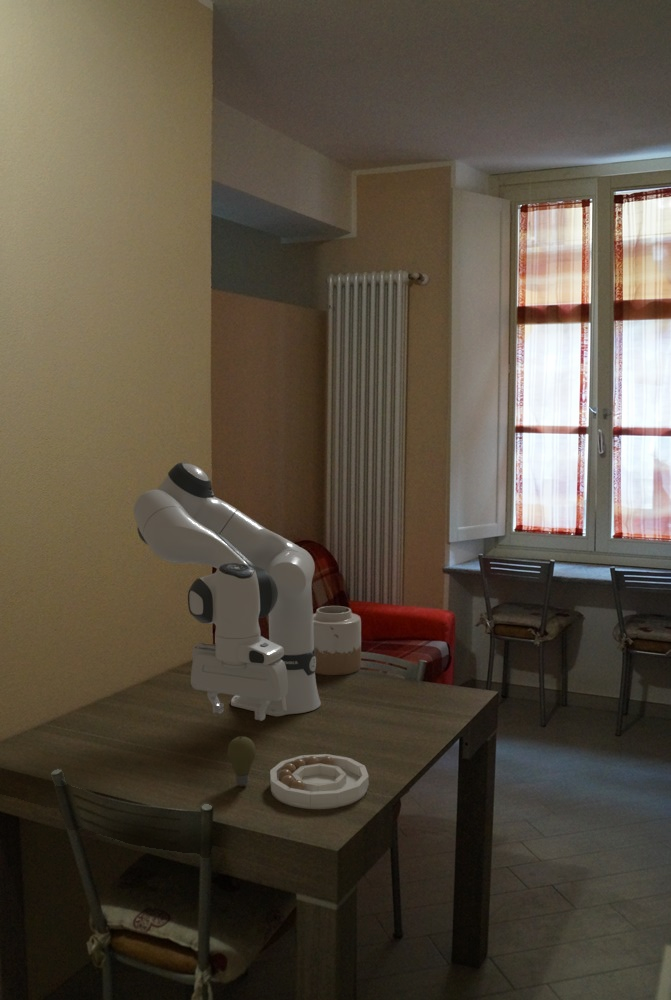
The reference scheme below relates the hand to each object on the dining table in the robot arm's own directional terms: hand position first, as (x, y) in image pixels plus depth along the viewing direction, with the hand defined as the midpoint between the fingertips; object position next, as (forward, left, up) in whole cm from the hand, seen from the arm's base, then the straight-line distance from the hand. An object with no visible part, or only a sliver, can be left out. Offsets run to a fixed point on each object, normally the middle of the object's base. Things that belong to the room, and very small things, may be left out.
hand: (239, 716), depth 184 cm
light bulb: (0, 0, -15) cm, 15 cm away
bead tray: (+15, +5, -14) cm, 21 cm away
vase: (-15, +80, -15) cm, 83 cm away
